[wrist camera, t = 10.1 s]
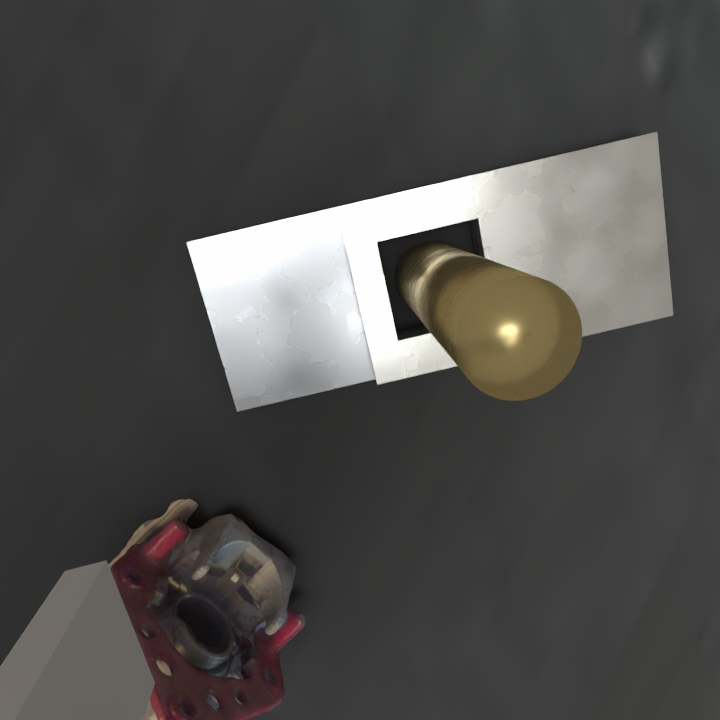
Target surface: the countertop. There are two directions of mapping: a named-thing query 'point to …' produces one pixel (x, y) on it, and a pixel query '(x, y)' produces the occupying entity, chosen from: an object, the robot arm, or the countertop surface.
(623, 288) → the light grey flat block
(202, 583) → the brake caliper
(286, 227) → the lower link
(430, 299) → the pin
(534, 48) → the countertop surface
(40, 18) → the countertop surface
